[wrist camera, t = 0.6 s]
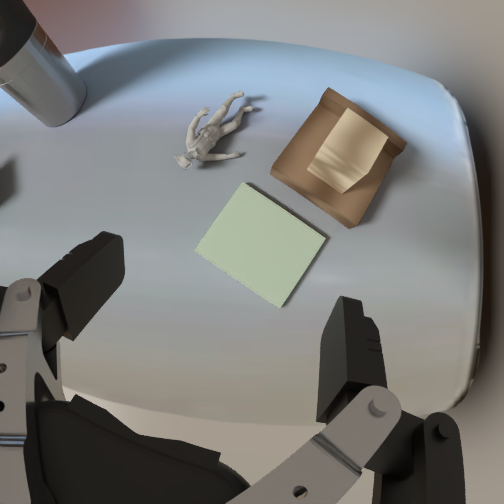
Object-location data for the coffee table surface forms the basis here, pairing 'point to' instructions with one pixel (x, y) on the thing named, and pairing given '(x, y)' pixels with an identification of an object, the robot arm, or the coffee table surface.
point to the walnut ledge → (308, 144)
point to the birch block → (347, 152)
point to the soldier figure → (211, 134)
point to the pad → (260, 245)
